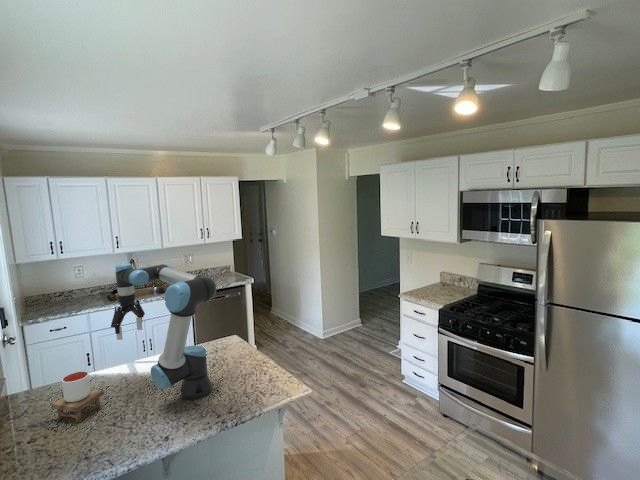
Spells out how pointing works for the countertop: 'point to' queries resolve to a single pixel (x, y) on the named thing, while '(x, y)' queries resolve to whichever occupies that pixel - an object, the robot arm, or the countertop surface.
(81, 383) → the cup
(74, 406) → the stool
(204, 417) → the countertop surface
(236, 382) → the countertop surface
